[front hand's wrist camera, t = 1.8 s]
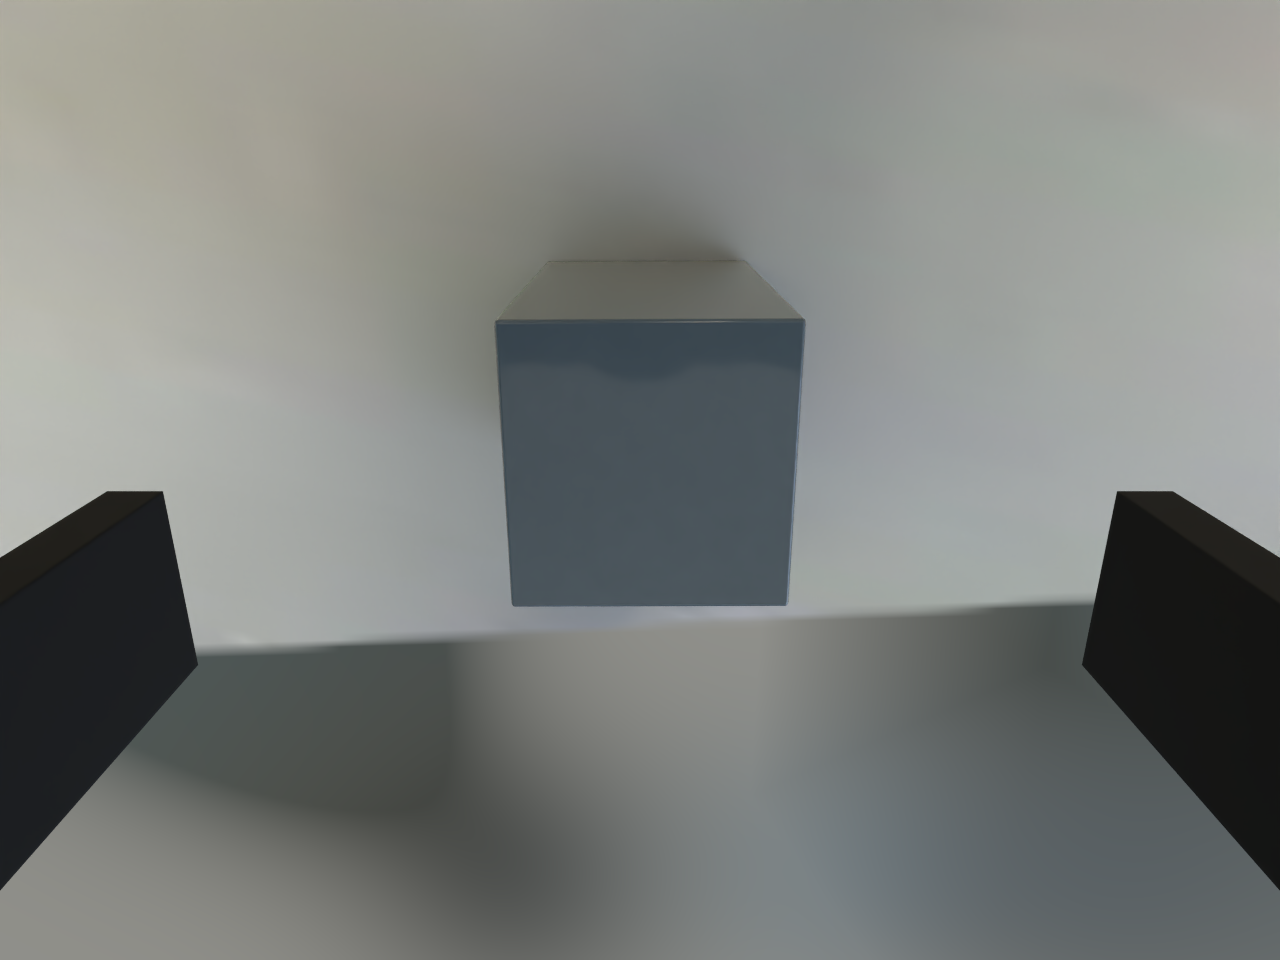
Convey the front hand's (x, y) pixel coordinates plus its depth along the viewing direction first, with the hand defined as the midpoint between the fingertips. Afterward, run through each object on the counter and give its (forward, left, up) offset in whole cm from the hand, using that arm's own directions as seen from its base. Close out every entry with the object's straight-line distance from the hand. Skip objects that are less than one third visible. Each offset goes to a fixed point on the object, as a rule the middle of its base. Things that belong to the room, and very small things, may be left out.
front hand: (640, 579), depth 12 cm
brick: (0, 0, -13) cm, 13 cm away
